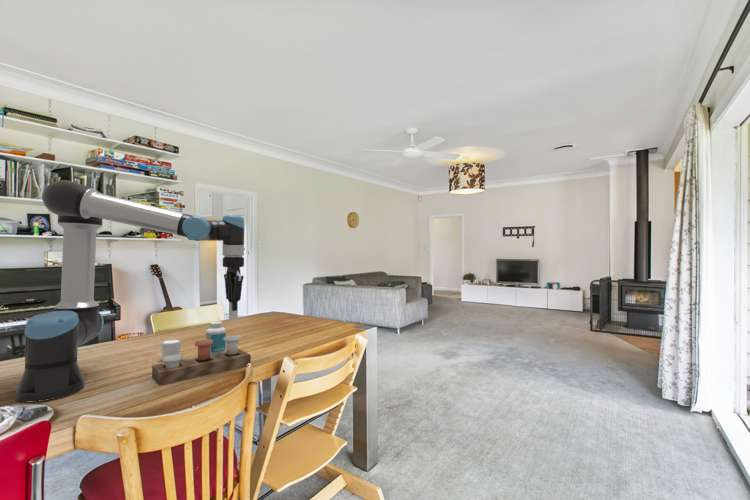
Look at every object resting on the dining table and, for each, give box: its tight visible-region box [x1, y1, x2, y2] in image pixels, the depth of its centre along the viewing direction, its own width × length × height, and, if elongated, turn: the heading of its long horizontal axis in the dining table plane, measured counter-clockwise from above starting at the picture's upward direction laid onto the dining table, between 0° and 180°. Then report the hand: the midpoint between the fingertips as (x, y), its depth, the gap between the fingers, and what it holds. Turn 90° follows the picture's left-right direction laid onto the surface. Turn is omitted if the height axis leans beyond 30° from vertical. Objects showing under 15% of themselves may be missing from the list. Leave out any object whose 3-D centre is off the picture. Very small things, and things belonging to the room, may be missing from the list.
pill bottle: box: [205, 321, 227, 355], centre depth 145 cm, size 8×7×14 cm
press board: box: [151, 348, 252, 386], centre depth 126 cm, size 30×10×4 cm, turn 133°
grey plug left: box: [162, 354, 184, 369], centre depth 119 cm, size 6×6×6 cm
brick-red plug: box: [194, 339, 213, 360], centre depth 126 cm, size 6×6×6 cm
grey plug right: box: [224, 334, 242, 355], centre depth 133 cm, size 6×6×6 cm
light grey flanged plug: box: [160, 339, 182, 359], centre depth 139 cm, size 7×7×7 cm
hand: (233, 318), depth 133 cm, fingers closed
